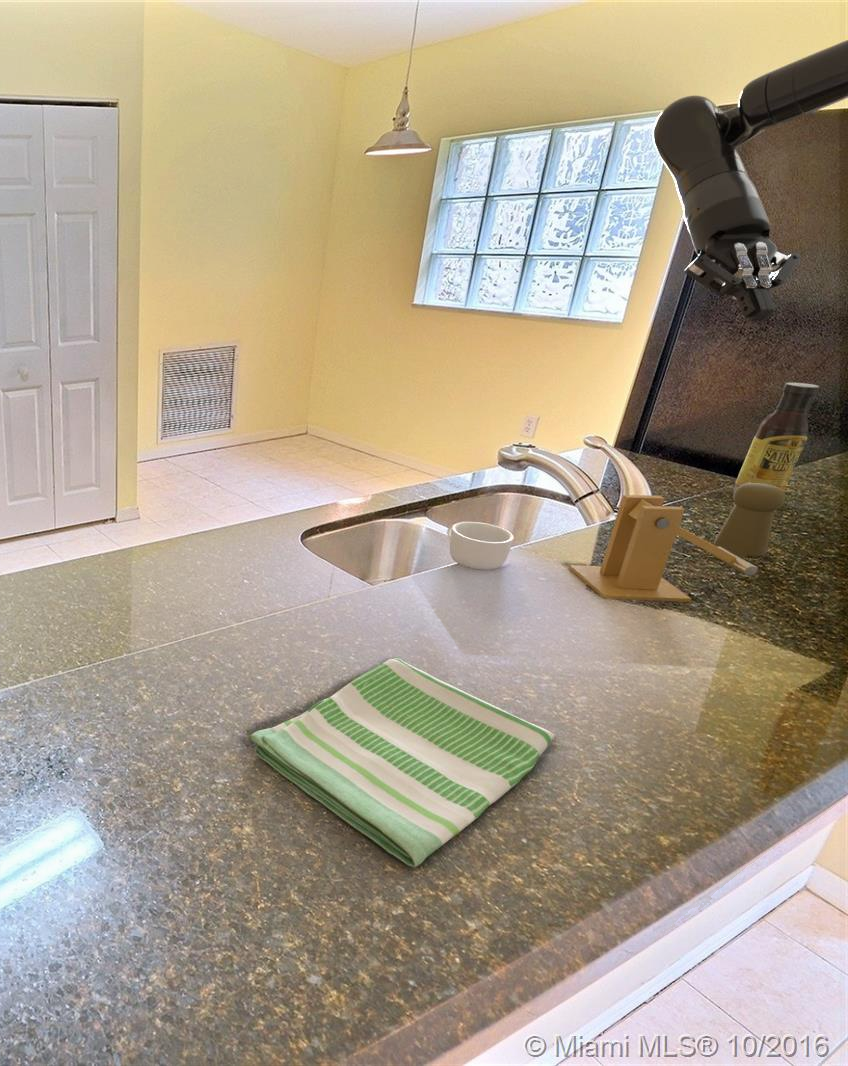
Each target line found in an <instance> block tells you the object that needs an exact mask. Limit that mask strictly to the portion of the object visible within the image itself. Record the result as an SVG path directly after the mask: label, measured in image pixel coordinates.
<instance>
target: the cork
mask: <svg viewBox="0 0 848 1066" xmlns="http://www.w3.org/2000/svg"><path fill="white" fill-rule="evenodd" d="M732 499H733V502H734V503H735V504H734V506H733V508H732V510H731V511H730V513H729V515H728V517H727V518H726V520H725V522H724V523H723V525H722V527H721V529H720V530H719V532H718V534H717V535H716V537H715V539H714V541H713V543H712V544H713V545H715V546H716V547H723V548H725V549H727V550H728V551H730V552H732V553H733V554H735V555H737V556H739V557H740V558H742V559H749V560H759V559H760V557H762V556H765V555H766V554H767V552H768V547H769V541H770V536H771V532H772V527H773V521H774V517H775V512H776V511H777V510H779V509H781V507H782V506H783V505H784V504H785V501H786V494H785V490H784V491H783V490H782V489H780V488H778V487H776V486H772V485H768V484H762V483H746V484H742V485H741V486H739V487H738V488H737V489H736V490H735V492H734V493H733V497H732ZM758 557H759V558H758Z"/></svg>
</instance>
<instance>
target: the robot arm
mask: <svg viewBox="0 0 848 1066" xmlns="http://www.w3.org/2000/svg"><path fill="white" fill-rule="evenodd" d="M847 99H848V39H846V40H843V41H841V42H839V43H836V44H834V45H831V46H829V47H826V48H824V49H821V50H819V51H817V52H814V53H812V54H809V55H807V56H805V57H802V58H800V59H797V60H795V61H793V62H791V63H788V64H786V65H784V66H780V67H779V68H776V69H774V70H771V71H769V72H766V73H765V74H762V75H760V76H758V77H756V78H755V79H752V80H751V81H750V82H748V83H747V84H746V85H745V86H744V87H743V89H742V90H741V91H740V94H739V98H738V104H737V105H735V106H734V107H732V108H730V109H728V110H725V111H723V110H721V109H720V108H719V107H718V106H717V105H716V104H715V103H714V102H713V101H712V100H711V99H710V98H708V97H706V96H702V95H687V96H684V97H680V98H679V99H677V100H674V101H673V102H671V103H670V104H668V105H667V106H666V107H665V108H664V109H663V110H662V111H661V112H660V113H659V115H658V117H657V118H656V120H655V122H654V125H653V129H652V140H653V145H654V147H655V149H656V151H657V152H658V155H659V157H660V158H661V160H662V161H663V163H664V165H665V166H666V168H667V169H668V171H669V172H670V174H671V176H672V178H673V180H674V183H675V187H676V191H677V194H678V197H679V200H680V203H681V205H682V210H683V212H682V213H683V219H684V222H685V224H686V226H687V231H688V233H689V236H690V239H691V242H692V245H693V248H694V251H695V254H696V255H697V257H696V258H695V259H694V260H693V261H692V262H691V263H690V264H689V265H688V266H686V268H685V269H684V273H685V275H687V276H688V277H689V278H691V279H693V280H694V281H696V282H697V283H699V284H700V285H702V286H703V287H705V288H706V289H707V290H709V291H711V293H714V294H715V295H716V296H718V297H721V298H722V297H723V298H724V297H726V295H727V296H731V297H732V299H733V300H736V301H737V303H738V306H739V308H740V312H741V314H742V316H743V317H744V318H746V321H747V322H763V321H765V320H766V319H767V318H769V317H770V316H771V315H772V314H773V313H774V311H775V310H776V304H775V302H774V299H773V297H772V293H773V292H775V290H776V289H777V288H779V287H780V286H782V285H783V284H784V283H786V281H787V279H788V278H789V276H790V275H791V273H792V272H793V271H794V269H795V268H796V267H797V266H798V263H799V262H800V261H801V259H802V255H801V254H800V253H797V252H792V253H791V254H789V255H786V254H784V253H781V252H779V251H778V247H777V245H776V244H775V243H774V242H773V241H772V240H771V239H770V232H771V228H772V227H771V226H772V225H771V222H770V219H769V217H768V215H767V212H766V210H765V207H764V204H763V202H762V200H761V198H760V194H759V192H758V189H757V187H756V185H755V184H754V183H753V181H752V180H751V179H750V177H749V174H748V172H747V170H746V167H745V165H744V162H743V160H742V158H741V156H740V154H739V153H738V151H737V150H736V148H737V147H739V146H741V145H743V144H744V143H746V142H748V141H750V140H751V139H754V138H755V137H756V136H759V134H761V133H763V132H765V131H766V130H768V129H770V128H773V127H776V126H779V125H781V124H782V125H783V124H784V123H787V122H790V121H793V120H795V119H798V118H800V117H803V116H806V115H809V114H811V113H814V112H816V111H819V110H822V109H824V108H827V107H829V106H832V105H835V104H836V103H839V102H841V101H844V100H847ZM716 278H717V279H719V281H720V282H721V283H719V282H718V281H716Z"/></svg>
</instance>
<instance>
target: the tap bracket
mask: <svg viewBox="0 0 848 1066" xmlns="http://www.w3.org/2000/svg"><path fill="white" fill-rule="evenodd" d="M641 500H644V501H646V502H648V503H650V504H651V505H653V506H641V508H640V511H639V515H638V518H637V520H636V519H634V518H633V517H631V516H630V515H628V514H629V513H630V512H631V511H632V510H633V509H634V508H635V507H636V505H637V504H638V503H639V502H640V501H641ZM665 500H666V498H665V497H663V496H662V495H645V494H644V495H643V494H642V495H641V494H635V495H634V494H623V495H622V497H621V500H620V503H619V507H618V510H617V513H616V517H615V519H614V523H613V526H612V530H611V533H610V536H609V538H608V543H607V546H606V548H605V549H606V550H605V553H604V556H603V559H602V563H601V566H600V565H577V564H576V565H575V564H570V565H569V567H568V569H569V570H570V571H571V572H572V573H573V574H574V575H576V576H577V577H578V578H579V579H581V580H582V581H583V582H584V583H585V584H586V585H587V586H589V587H590V588H591V589H592V590H593V591H594V592H595V593H596V594H598V595H599V596H600V597H601V598H602V599H605V600H606V599H608V600H609V599H610V600H633V601H653V602H654V601H657V602H678V603H679V602H680V603H691V601H692V598H691V597H690V596H688V595H687V594H686V593H684V592H683V591H681V590H680V589H679V588H678V587H676V586H674V585H673V584H672V583H671V582H669V580H666V579H665V578H663V574H664V572H665V569H666V566H667V563H668V560H669V557H670V554H671V551H672V549H673V546H674V543H675V540H676V536H677V535H676V534H677V531H678V528H679V527H680V525H681V523H682V519H683V516H684V513H685V511H686V510H685V508H683V507H681V506H665V505H664V502H665ZM663 505H664V506H663Z"/></svg>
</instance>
